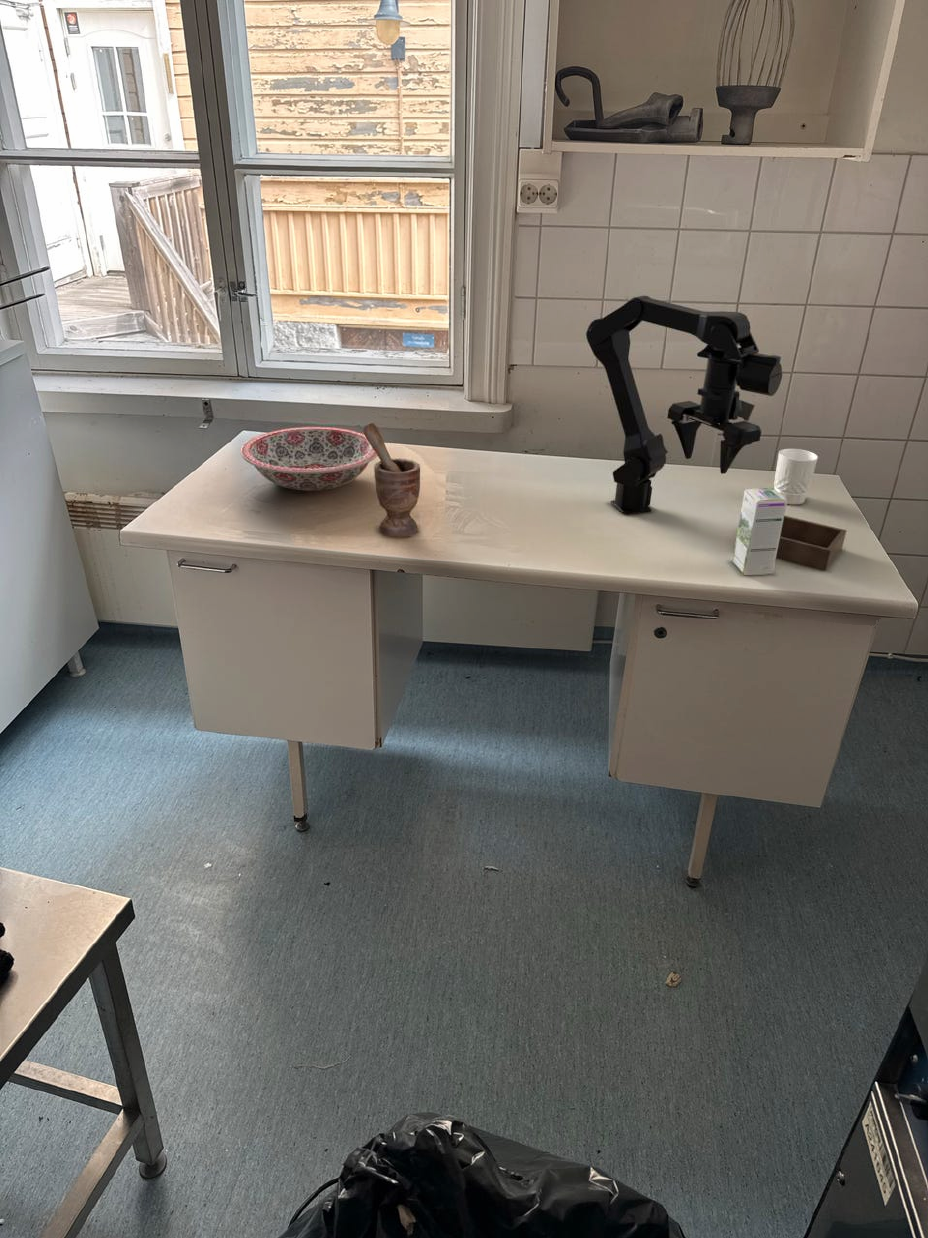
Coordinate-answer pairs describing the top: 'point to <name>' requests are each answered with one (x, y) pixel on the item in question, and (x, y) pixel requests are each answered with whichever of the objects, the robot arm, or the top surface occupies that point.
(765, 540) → the syrup box
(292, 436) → the ceramic bowl
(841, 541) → the crate
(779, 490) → the white cup
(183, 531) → the top surface
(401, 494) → the mortar and pestle
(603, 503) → the top surface
